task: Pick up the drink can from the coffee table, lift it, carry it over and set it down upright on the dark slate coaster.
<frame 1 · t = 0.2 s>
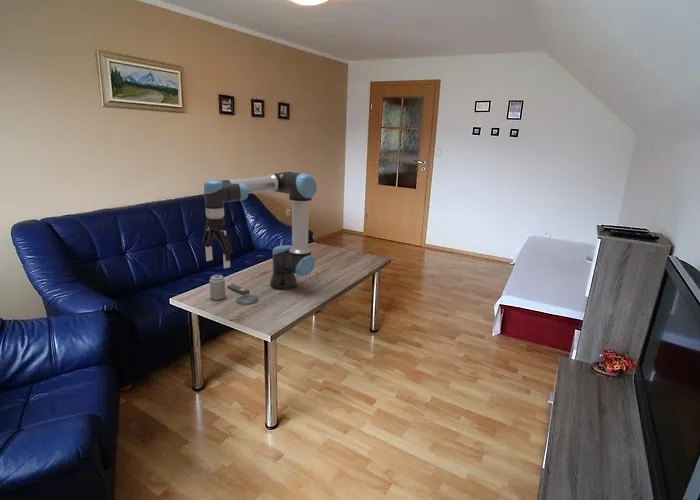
hand: (218, 263, 178), 28 cm above the table, fingers open, 13 cm apart
coaster: (247, 300, 209), on the table
remote: (238, 291, 220), on the table
can: (218, 298, 210), on the table
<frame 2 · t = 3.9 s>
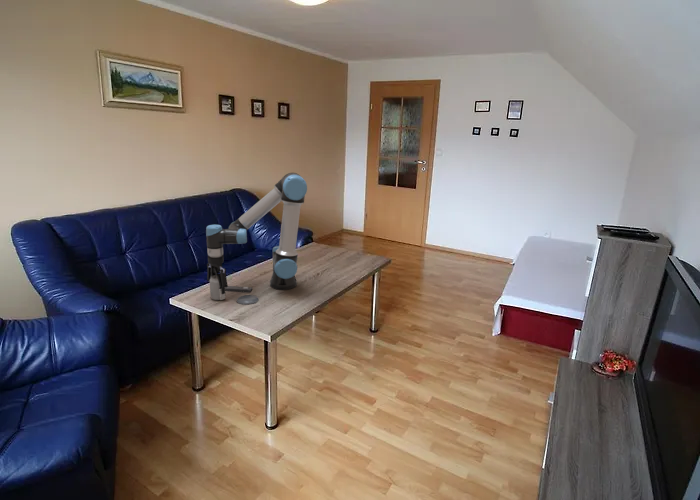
hand: (218, 296, 210), 1 cm above the table, fingers closed on can, 7 cm apart
can: (218, 298, 210), on the table, touching gripper
when the fingers open (3 cm above the table, at t = 8.7 s): can drops 1 cm, resting on coaster.
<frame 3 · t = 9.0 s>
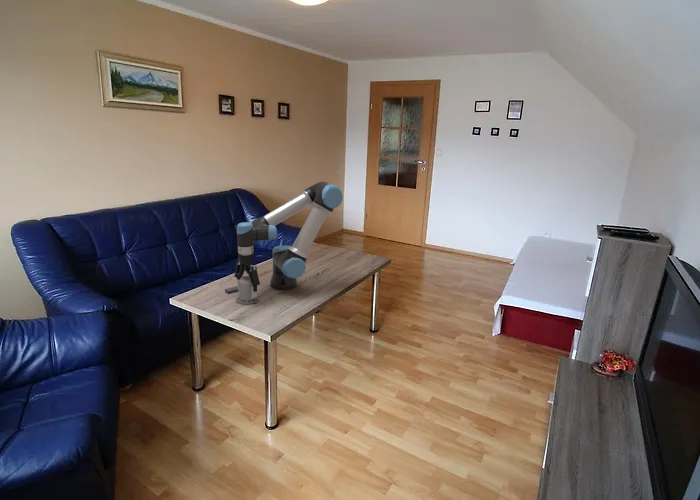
hand: (247, 293, 208), 4 cm above the table, fingers open, 11 cm apart
can: (247, 299, 208), resting on coaster
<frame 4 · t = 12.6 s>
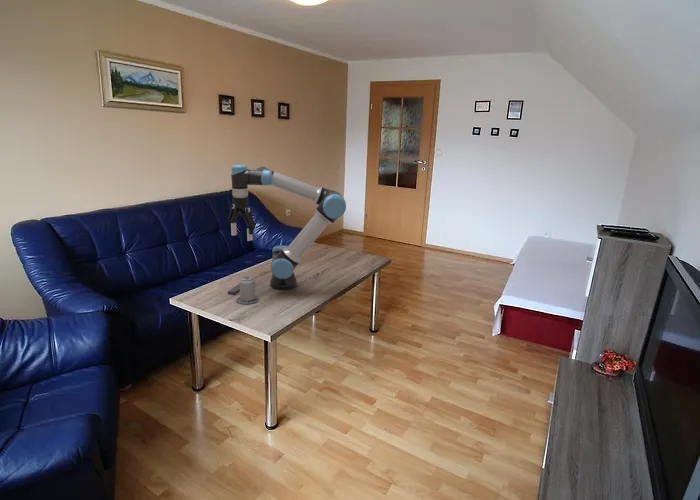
hand: (241, 237, 206), 32 cm above the table, fingers open, 13 cm apart
at the end: can inside the target area on the coaster (0.0 cm from its centre), point 0.4 cm above the coaster's base; can tilted 0°; the gripper is holding nothing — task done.
